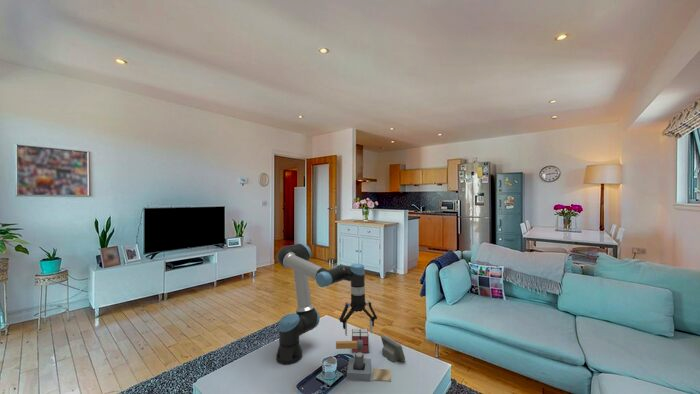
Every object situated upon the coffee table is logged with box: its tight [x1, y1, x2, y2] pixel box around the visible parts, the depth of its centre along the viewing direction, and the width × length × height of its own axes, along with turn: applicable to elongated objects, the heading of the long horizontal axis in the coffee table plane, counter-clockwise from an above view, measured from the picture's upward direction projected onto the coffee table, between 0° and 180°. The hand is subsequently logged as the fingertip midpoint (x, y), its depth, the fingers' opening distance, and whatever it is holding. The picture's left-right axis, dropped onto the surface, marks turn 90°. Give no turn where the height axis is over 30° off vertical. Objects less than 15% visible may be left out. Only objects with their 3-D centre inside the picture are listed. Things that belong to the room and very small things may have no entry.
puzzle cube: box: [351, 328, 370, 354], centre depth 169 cm, size 10×10×10 cm
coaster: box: [372, 368, 392, 382], centre depth 143 cm, size 9×9×1 cm
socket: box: [346, 349, 372, 382], centre depth 146 cm, size 12×14×10 cm
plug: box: [354, 352, 365, 370], centre depth 146 cm, size 5×5×10 cm
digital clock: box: [380, 334, 406, 363], centre depth 160 cm, size 16×9×11 cm, turn 24°
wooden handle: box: [335, 340, 363, 350], centre depth 151 cm, size 4×15×3 cm, turn 91°
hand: (358, 333), depth 145 cm, fingers open, 13 cm apart
